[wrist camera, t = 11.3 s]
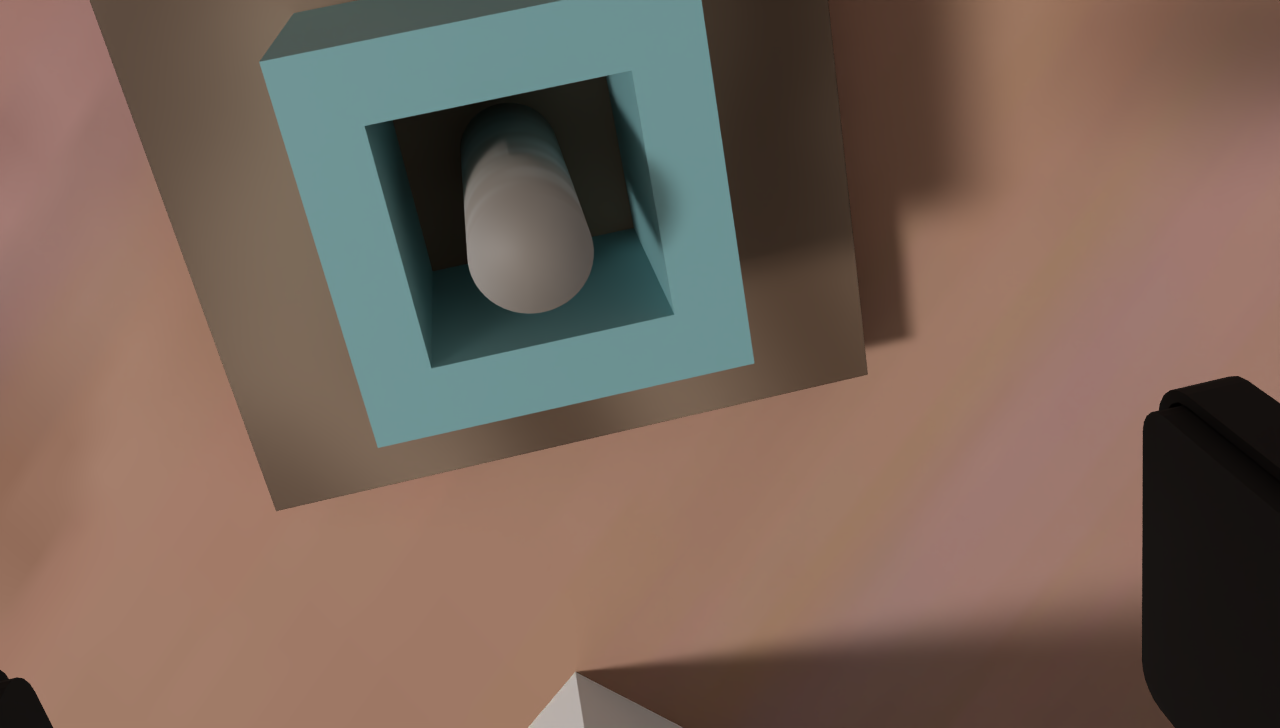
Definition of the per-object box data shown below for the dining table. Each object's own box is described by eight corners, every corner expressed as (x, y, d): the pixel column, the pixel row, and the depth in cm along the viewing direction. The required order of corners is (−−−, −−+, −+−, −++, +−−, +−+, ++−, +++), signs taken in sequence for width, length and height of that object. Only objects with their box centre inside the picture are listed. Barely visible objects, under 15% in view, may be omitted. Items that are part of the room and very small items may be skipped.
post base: (776, -287, 24) (922, -329, 17) (848, 348, 30) (978, 520, 23) (60, -147, 23) (-112, -126, 16) (283, 478, 29) (233, 699, 22)
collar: (648, -59, 24) (697, -28, 19) (701, 270, 27) (754, 363, 22) (293, 13, 23) (259, 61, 19) (388, 339, 26) (377, 448, 22)
